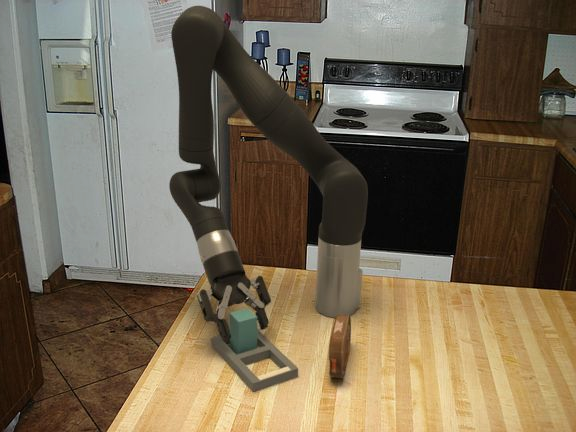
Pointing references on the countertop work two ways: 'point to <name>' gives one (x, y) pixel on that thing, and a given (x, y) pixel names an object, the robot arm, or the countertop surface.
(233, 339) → the block
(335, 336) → the tin
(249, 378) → the frame
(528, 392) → the countertop surface
